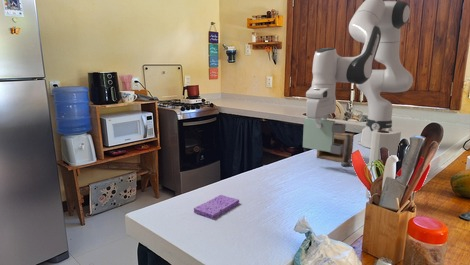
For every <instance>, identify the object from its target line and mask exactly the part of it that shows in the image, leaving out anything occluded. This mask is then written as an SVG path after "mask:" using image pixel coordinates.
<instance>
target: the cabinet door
mask: <svg viewBox="0 0 470 265" xmlns="http://www.w3.org/2000/svg"><path fill="white" fill-rule="evenodd" d="M321 122H322V128H317V127H316V124H317V123H316V120H315V119H310V118H307V117H304V118H303V130H302V131H303V133H302V134H303V135H302V148H305V149H310V150H315V151H317V150H321V151H326V152H330V153H334V154H342V153H343V152H344V145H342V144H336V143H334V133H339V134H342V133H346V126H347V124H345V123H338V122H336V120H330V119H327V120H322V119H321Z"/></svg>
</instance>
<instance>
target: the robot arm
mask: <svg viewBox="0 0 470 265" xmlns="http://www.w3.org/2000/svg"><path fill="white" fill-rule="evenodd" d="M410 14H411V7H410V5H409V3H408V2H407V1H404V0H397V1H396V0H364V1H363V2H362V4H361V5H359V7H358V8H357V9H356V11H355V13H354V14H353V16H352V17H351V19H350V21H349V24H348V32H349V34H350V36H351V37H352V38H353V40H355V41H356V42H359V43H362V44H363V47H362V49H361V52H360V54H359V55H356V56H341V55H339V54H338V53H337V49H336V48H335V47H323V48H318V49H317V50H315V51H314V55H313V59H312V60H313V61H312V70H311V71H312V81H311V86H310V88H309V89H308V90H306V92H305V97H306V98H307V99H306V101H305V103H306V104H305V106H306V107H305V112H306V114H305V116H306V118H310V119H315V120H316V123H317V124H316V127H317V128H322V122H321V119H322V120H328V117H329V115H331V114H334V113H336V110H337V98H336V97H337V96H336V86H337V85H336V84H337V83H346V84H347V83H350V84H354V85H356V88H357V89H358V90H359V91H360V93H361V92H362V94H363V95H364V96H365V98H366V101H367V118H366V120H365V125H366V126H365V127H364V128H362V130H361V131H362V132H361V139H360V141H359V140H358V141H357V144H358V145H360V146H362V147H363V148H369V149H371V139H372V131H373V130H386V129H387V128H390V129H391V132H394V131H393V129H392V127H393V120H392V119H393V118H392V116H393V108H394V106H393V103H392V102H391V101H390V100H388V99H385V97H382V96H381V93H402V92H407V91H409V90H410V88H411V87H412V86H413V84H414V76H413V74H412V73H411V72H410V71H408V69H406V68H405V67H404V66H403V64H402V61H401V59H400V46H401V45H400V44H401V38H402V37H401V36H402V34H401V33H402V32H401V30H402V29H401V28H402V27H403V26H405V25H406V24H407V22H408V20H409V18H410ZM375 61H376V62H377V63H380V64H382V65H384V66H385V69H373V67H374V66H373V65H374V62H375Z"/></svg>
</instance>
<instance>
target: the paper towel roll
mask: <svg viewBox="0 0 470 265" xmlns="http://www.w3.org/2000/svg"><path fill="white" fill-rule="evenodd" d="M401 135H402V132H401V131H400V132H394V131H393V132H391V131H386V130H373V131H372V139H371V148H369V149H370V150H369V151H370V152H369V159H368V160H369V163H370V162H372V161H374V160H378V159H380V148H381V147H387V148H388V151H389V156H391V155H397V149H398V145H399V143H400V142H401ZM400 144H401V143H400ZM399 146H400V145H399ZM369 163H368V164H369ZM369 196H370V194H369V192H368V190H367V188H366V192H365V197H366V198H367V199H368V197H369Z"/></svg>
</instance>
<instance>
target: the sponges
mask: <svg viewBox="0 0 470 265" xmlns="http://www.w3.org/2000/svg"><path fill="white" fill-rule="evenodd" d="M238 204H240V199H239V198H235V197H229V196H226V195H223V194H219V195H217V196H215V197H214V198H211V199H209V200H207V201H206V202H203V203H201V204H199V205H197V206H195V207H194V208H193V213H195V214H198V215H199V216H203V217H206V218H209V219H211V220H214V219H216V218H217V217H219V216H220V215H222V214H224V213H226V212H227V211H229V210H230V209H231V210H232V208H234V207H236V206H237V205H238Z"/></svg>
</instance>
